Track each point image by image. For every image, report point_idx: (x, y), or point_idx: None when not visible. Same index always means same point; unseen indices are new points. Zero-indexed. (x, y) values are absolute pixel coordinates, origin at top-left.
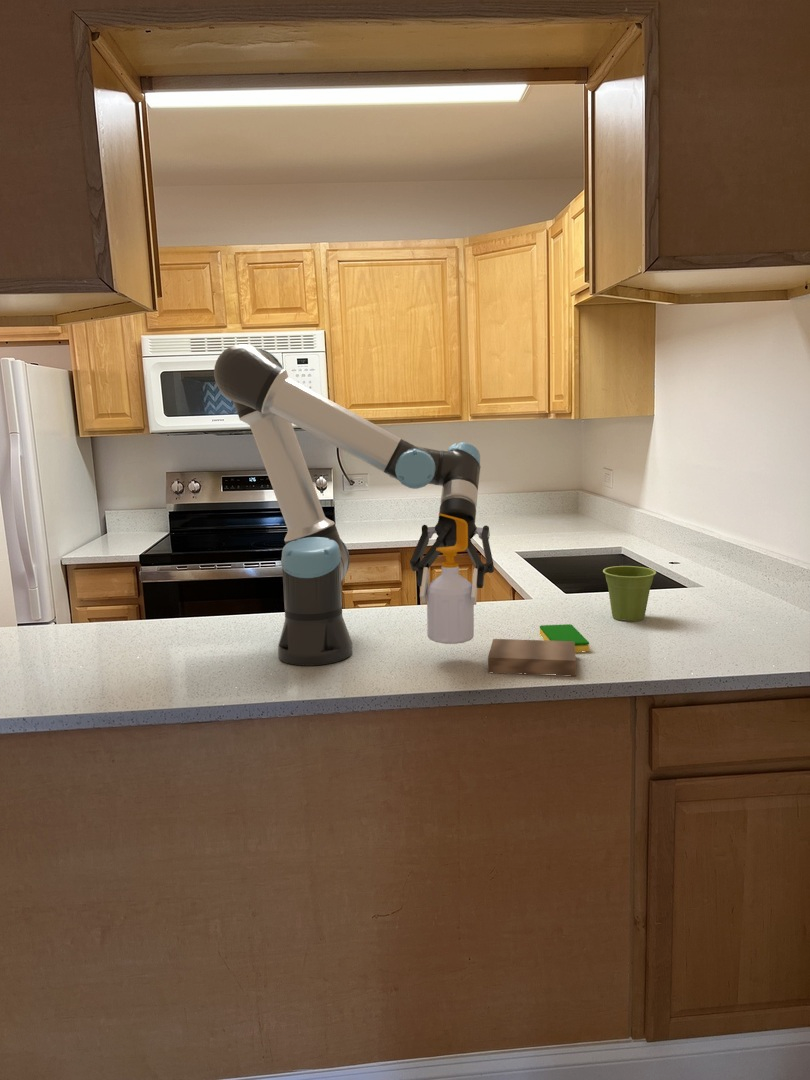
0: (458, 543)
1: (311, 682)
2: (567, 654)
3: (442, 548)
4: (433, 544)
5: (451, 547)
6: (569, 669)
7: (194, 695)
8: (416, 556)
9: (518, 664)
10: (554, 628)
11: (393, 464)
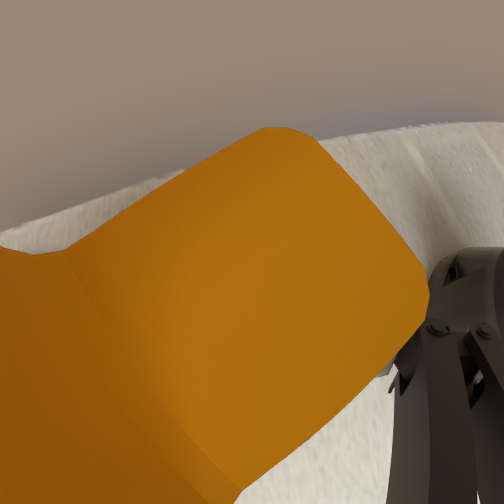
0: (163, 468)
1: (415, 187)
2: None
3: (359, 268)
4: (475, 488)
5: (259, 369)
6: None
7: (480, 149)
8: (496, 361)
9: None
10: None
11: None
